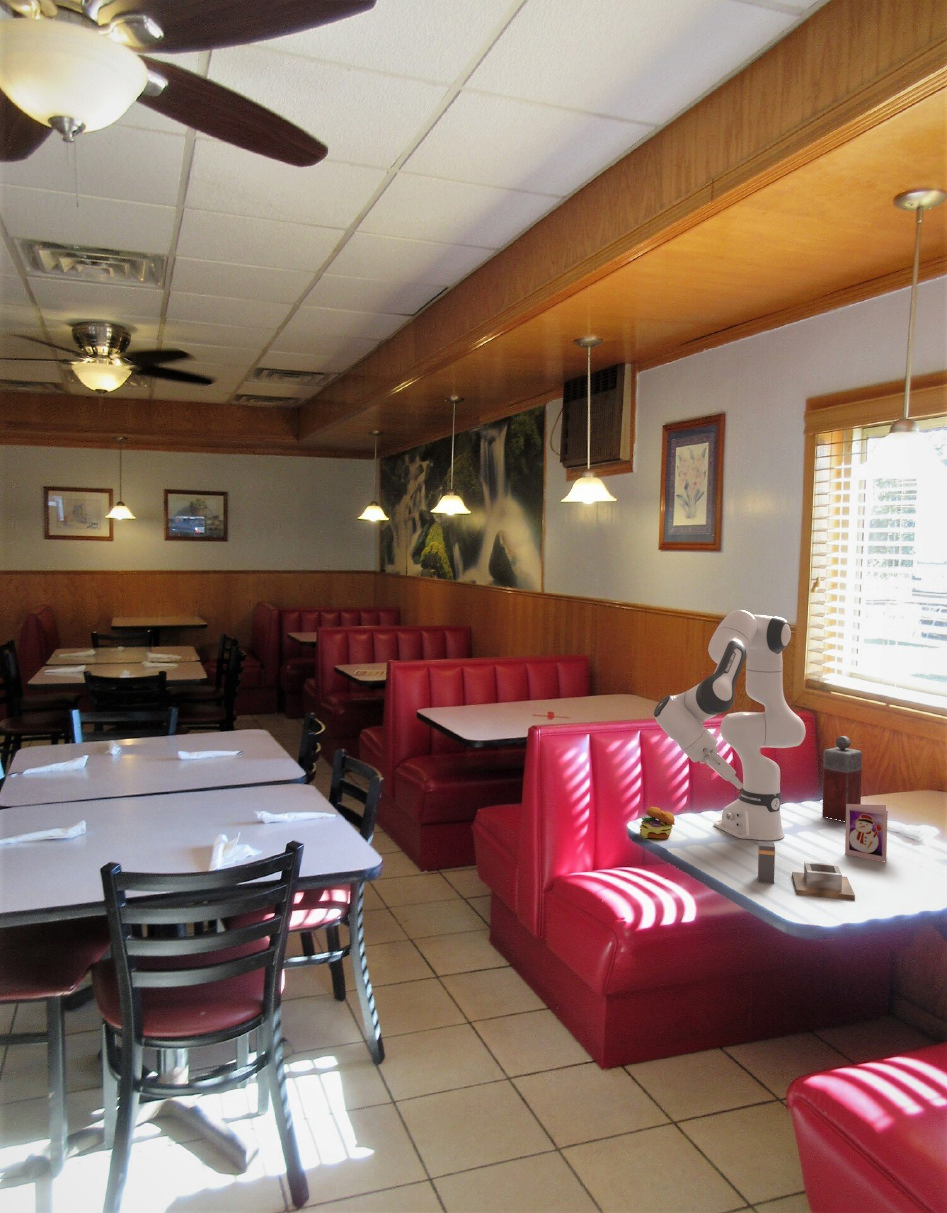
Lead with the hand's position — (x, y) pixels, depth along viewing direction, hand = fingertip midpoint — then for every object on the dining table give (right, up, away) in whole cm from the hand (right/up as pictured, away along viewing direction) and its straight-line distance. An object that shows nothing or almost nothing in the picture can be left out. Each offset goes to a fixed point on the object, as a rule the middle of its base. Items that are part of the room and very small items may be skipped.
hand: (737, 784), depth 237 cm
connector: (+8, -26, 0) cm, 27 cm away
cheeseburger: (-14, -24, +39) cm, 48 cm away
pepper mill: (+54, -24, +61) cm, 85 cm away
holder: (+21, -26, -6) cm, 34 cm away
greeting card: (+45, -26, +21) cm, 56 cm away
